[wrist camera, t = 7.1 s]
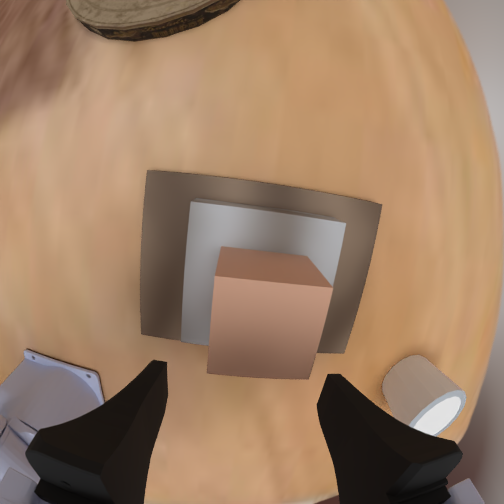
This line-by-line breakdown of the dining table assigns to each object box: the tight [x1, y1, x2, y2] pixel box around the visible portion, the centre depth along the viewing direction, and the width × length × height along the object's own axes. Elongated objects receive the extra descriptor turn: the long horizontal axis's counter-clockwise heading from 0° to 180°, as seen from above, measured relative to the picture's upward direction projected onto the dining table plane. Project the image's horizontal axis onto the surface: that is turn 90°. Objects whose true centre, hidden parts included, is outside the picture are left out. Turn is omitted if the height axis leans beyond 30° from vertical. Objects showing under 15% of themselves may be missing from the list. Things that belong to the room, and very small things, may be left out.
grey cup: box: [382, 355, 466, 437], centre depth 21 cm, size 7×7×7 cm
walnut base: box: [140, 170, 382, 353], centre depth 19 cm, size 16×12×4 cm
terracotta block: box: [207, 246, 333, 379], centre depth 15 cm, size 5×5×5 cm
